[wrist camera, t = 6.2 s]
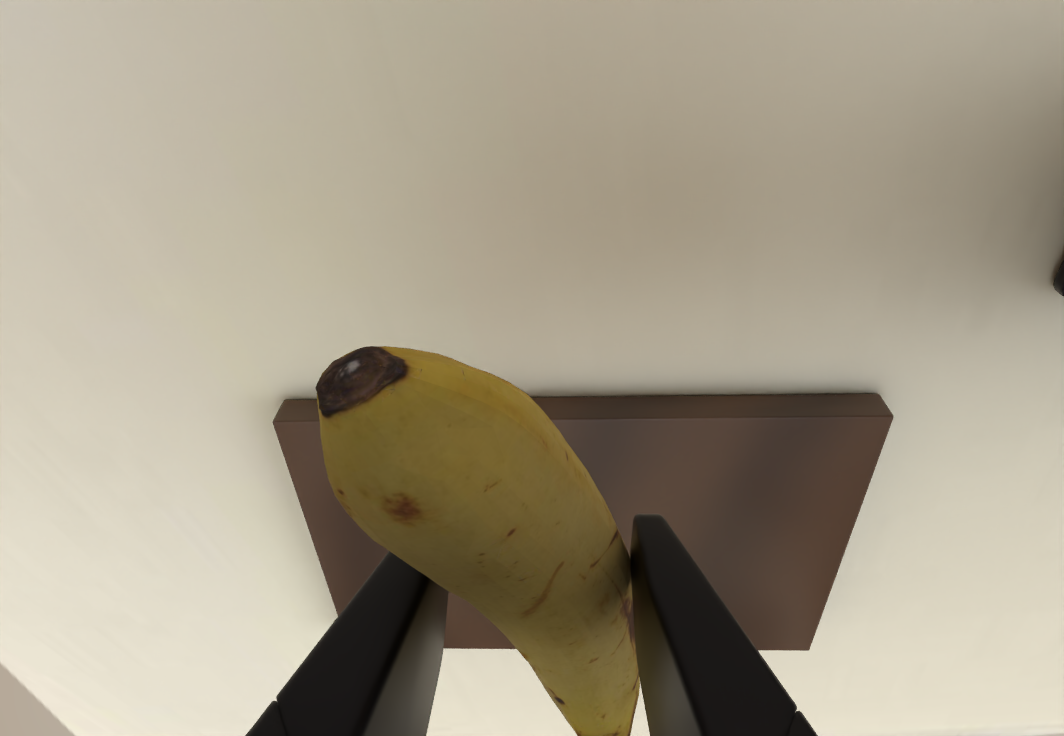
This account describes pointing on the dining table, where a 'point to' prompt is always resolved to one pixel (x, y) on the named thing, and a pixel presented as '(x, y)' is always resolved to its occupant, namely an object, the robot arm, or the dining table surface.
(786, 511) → the walnut board
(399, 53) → the dining table surface
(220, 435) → the dining table surface
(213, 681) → the dining table surface
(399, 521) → the banana
